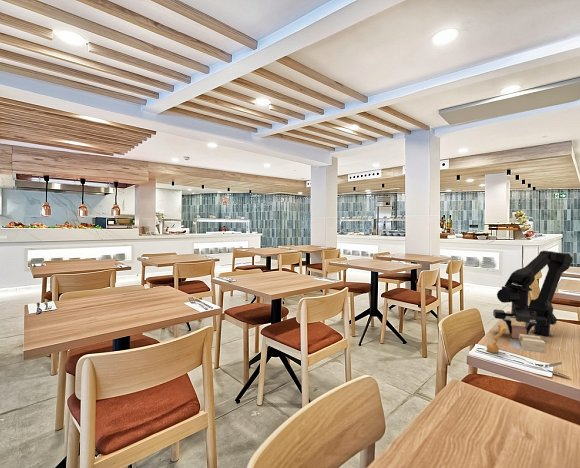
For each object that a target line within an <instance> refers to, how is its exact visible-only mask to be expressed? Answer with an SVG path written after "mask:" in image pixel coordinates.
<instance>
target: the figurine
mask: <svg viewBox="0 0 580 468" xmlns="http://www.w3.org/2000/svg"><path fill="white" fill-rule="evenodd" d="M497 327H498V329H497V331H498V333H497V334H495V335H494V337H493V342H489V343H488V344H487V345H486V350H487V351H488V352H489V353H490V354H497V353H499V351H500V349H499V345H498V342H499V338H500V337H501V336H503V334H504V333H505V332H506V331H507V327H506V326H504V325H501V324H500V323H498V324H497Z"/></svg>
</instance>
